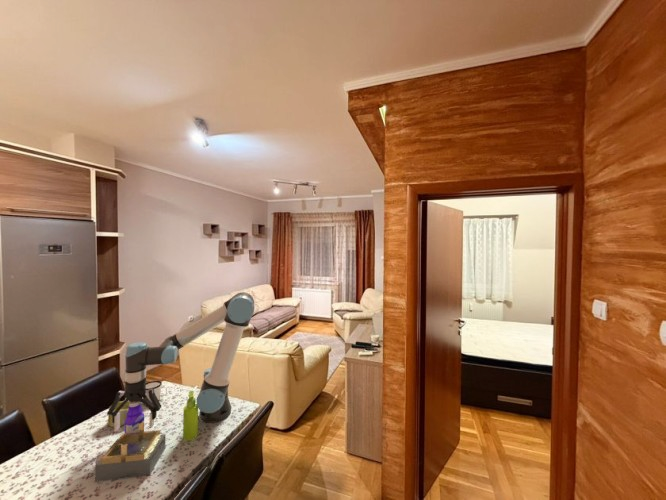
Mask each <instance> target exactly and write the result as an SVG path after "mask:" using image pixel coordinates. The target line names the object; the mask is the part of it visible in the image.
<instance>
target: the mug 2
mask: <svg viewBox="0 0 666 500" xmlns="http://www.w3.org/2000/svg"><path fill="white" fill-rule="evenodd" d="M162 383H163V382H162V381H160V380H151V381H148V382H146V390H149V389H151V388H154V393H155V395H156V397H157V399H158V400H159V401H160V400H161V397H163V396H166V395H167V394H168V393H167V392H168V387H167V386H162ZM164 388H165V393H164V394H163V393H162V394H161V389H164ZM145 395H146V396H147V398H148V399H149V400H150V398H149V395H147V393H146V394H145ZM150 401H151V400H150ZM151 402H152V401H151ZM142 404H143V403H142ZM142 404H141V405H142ZM143 405H144V404H143Z"/></svg>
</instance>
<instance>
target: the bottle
mask: <svg viewBox="0 0 666 500" xmlns="http://www.w3.org/2000/svg"><path fill="white" fill-rule="evenodd" d="M140 422H144V423H145V413H144V412H143V407H142V404H141V402H140V401H138V402H135V401H133V402H130V403H129V409H128V412H127V417H126V419H125V425H124V433H135V432H139V423H140Z"/></svg>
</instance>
